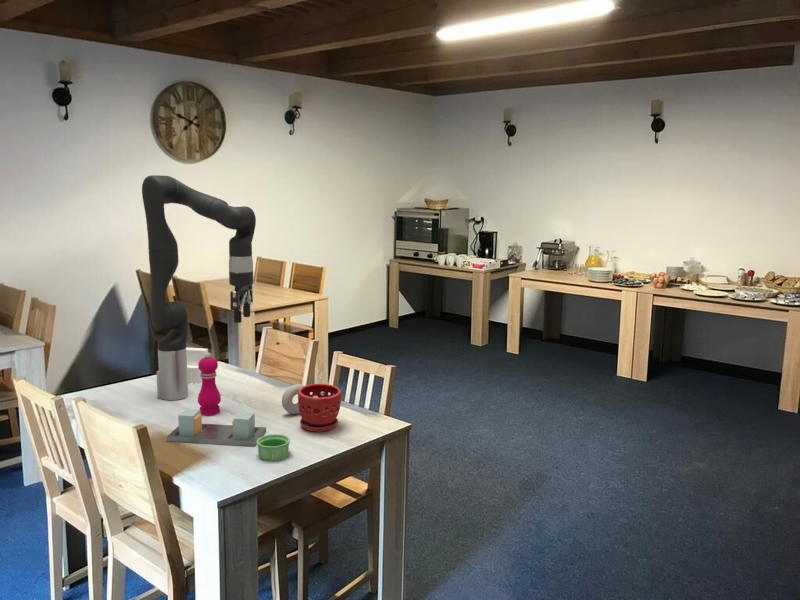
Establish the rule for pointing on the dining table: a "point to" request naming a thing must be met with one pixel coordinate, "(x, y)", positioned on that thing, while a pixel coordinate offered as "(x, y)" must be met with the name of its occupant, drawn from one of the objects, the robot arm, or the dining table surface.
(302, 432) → the dining table surface
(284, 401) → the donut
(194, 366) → the base with upright slab
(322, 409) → the plant pot
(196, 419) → the sage green block
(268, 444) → the ramekin
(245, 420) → the grey-green block
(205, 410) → the pepper mill
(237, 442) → the grey rectangular tray
